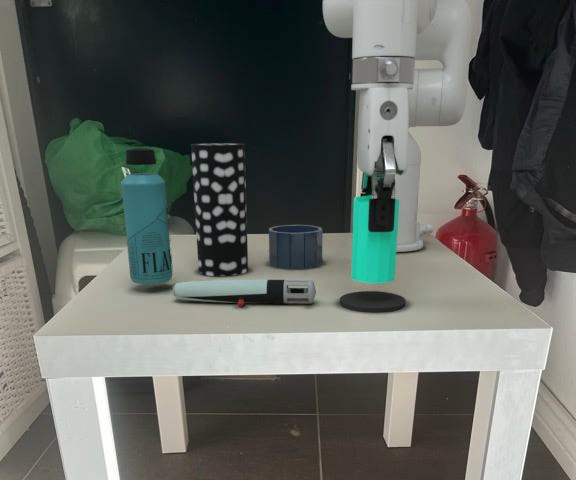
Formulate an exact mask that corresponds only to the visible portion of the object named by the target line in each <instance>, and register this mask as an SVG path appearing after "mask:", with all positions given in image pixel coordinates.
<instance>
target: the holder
mask: <svg viewBox="0 0 576 480" xmlns="http://www.w3.org/2000/svg"><path fill="white" fill-rule="evenodd" d="M268 262H269V263H268V265H269V266H270V267H274V268H276V269H286V270H304V269H305V270H306V269H312V268H313V269H314V268H317V267H319V266H322V265H323V228H322V227H320V226H316V225H310V224H309V225H308V224H284V225H276V226H275V225H274V226H272V227H269V228H268Z"/></svg>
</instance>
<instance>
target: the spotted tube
mask: <svg viewBox="0 0 576 480" xmlns="http://www.w3.org/2000/svg"><path fill="white" fill-rule="evenodd" d="M245 146H246V145H245V143H237V142H231V143H230V142H228V143H227V142H221V143H220V142H219V143H218V142H216V143H215V142H213V143H210V142H209V143H191V144H190V148H191V166H192V183H193V197H194V199H193V200H194V217H195V231H196V232H195V235H196V251H197V267H198V269H197V270H198V273H199V274H201V275H204V276H209V277H232V276H233V277H234V276H239V275H244V274H246V273H248V272H249V252H248V251H249V250H248V217H247V216H248V215H247V214H248V213H247V183H246V182H247V181H246V151H245V149H246V147H245Z"/></svg>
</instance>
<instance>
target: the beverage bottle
mask: <svg viewBox="0 0 576 480" xmlns="http://www.w3.org/2000/svg"><path fill="white" fill-rule="evenodd" d="M125 164H126V165H127V166H149V165H150V166H151V165H156V164H157V158H156V154H155V149H153V148H147V147H135V148H130V149H129V148H128V149H126V150H125ZM120 187H121V195H122V207H123V212H124V213H123V214H124V215H123V216H124V222H125V223H124V224H125V233H126V247H127V255H128V256H127V258H128V265H129V267H128V268H129V276H130V277H129V278H130V280H131V282H132V283H134V284H137V285H157V284H164V283H167V282H170V281H172V279H173V275H174V269H173V254H172V252H171V239H170V232H171V230H170V227H169V223H170V222H169V211H168V210H169V207H168V202H167V201H168V198H167V194H166V181H165V180H164V178H162V176H161V175H159V174H158V173H153V172H141V173H140V172H139V173H129V174H126V176H124V178H123V179H122V180H121V182H120Z"/></svg>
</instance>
